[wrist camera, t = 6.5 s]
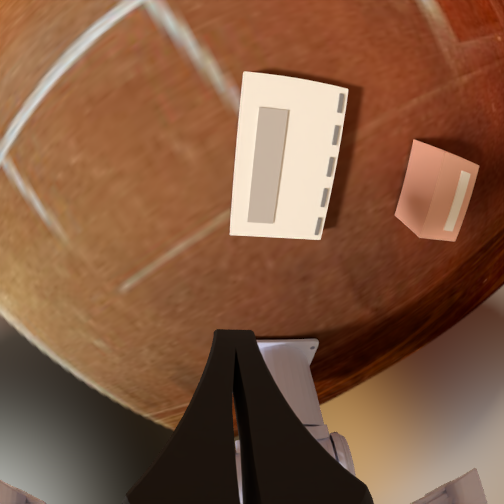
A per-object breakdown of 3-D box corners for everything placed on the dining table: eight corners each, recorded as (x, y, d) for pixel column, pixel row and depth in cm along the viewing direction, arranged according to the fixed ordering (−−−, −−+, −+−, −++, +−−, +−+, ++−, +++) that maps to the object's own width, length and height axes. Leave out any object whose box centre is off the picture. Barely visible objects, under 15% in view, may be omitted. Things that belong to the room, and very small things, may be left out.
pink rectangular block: (430, 220, 19) (455, 242, 16) (394, 215, 19) (420, 238, 16) (449, 152, 16) (480, 166, 13) (413, 139, 16) (445, 151, 13)
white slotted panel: (316, 232, 19) (321, 240, 18) (229, 227, 18) (229, 236, 17) (342, 89, 14) (349, 89, 13) (243, 73, 13) (244, 71, 12)
